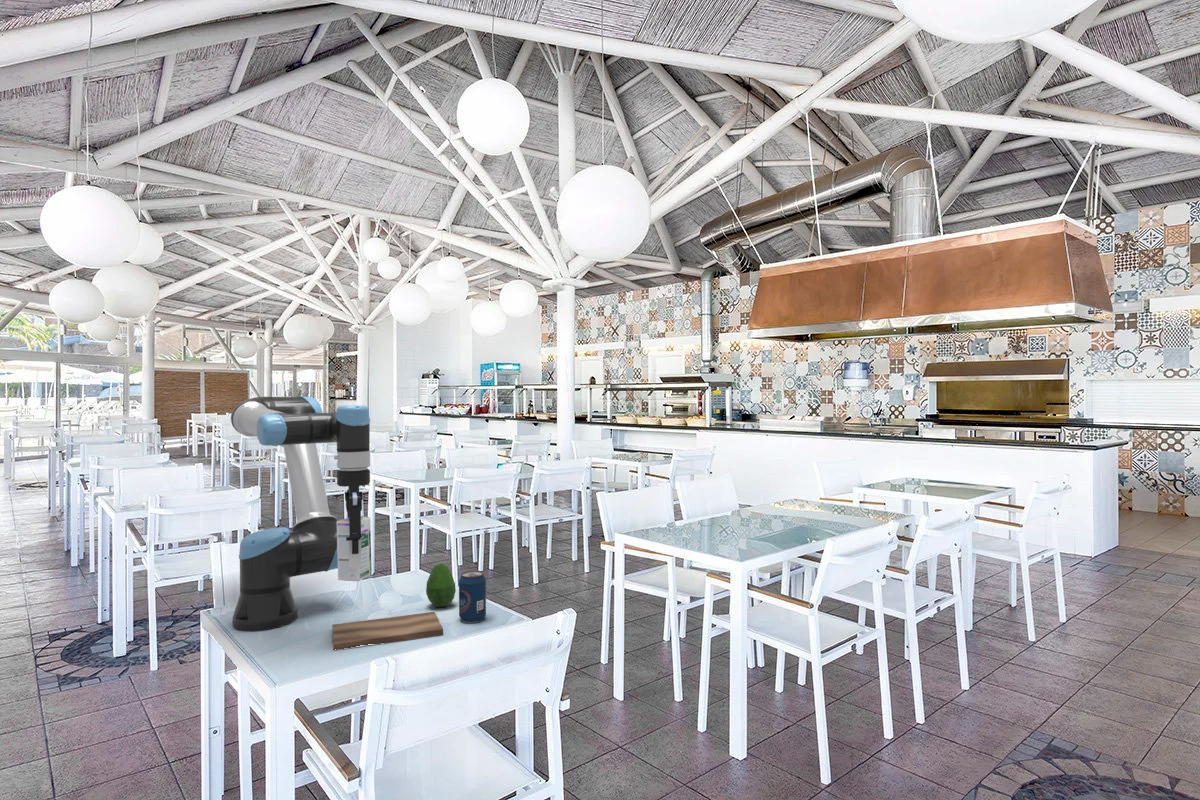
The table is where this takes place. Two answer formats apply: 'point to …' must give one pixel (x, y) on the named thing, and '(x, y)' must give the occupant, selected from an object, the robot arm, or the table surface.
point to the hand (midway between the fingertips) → (354, 562)
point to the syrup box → (343, 551)
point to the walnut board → (386, 630)
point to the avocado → (440, 586)
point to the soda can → (472, 596)
